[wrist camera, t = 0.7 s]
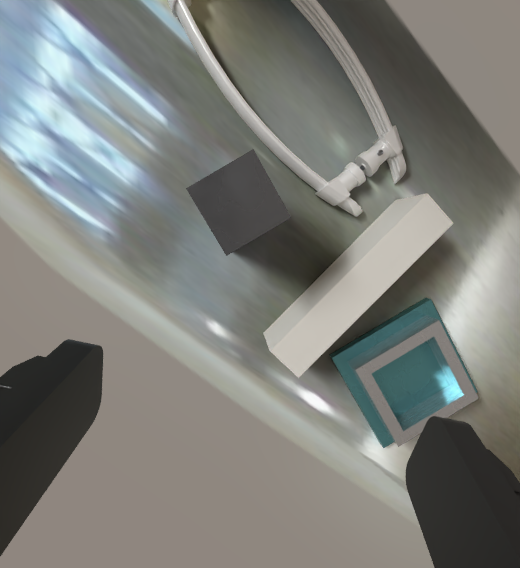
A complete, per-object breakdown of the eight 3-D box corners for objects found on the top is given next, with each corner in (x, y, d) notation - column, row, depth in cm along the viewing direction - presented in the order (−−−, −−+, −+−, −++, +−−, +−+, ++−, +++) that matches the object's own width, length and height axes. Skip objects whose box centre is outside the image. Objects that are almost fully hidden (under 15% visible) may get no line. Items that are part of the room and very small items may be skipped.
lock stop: (201, 206, 29) (186, 188, 19) (244, 181, 29) (253, 149, 19) (227, 248, 30) (226, 255, 19) (268, 224, 30) (291, 217, 19)
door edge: (287, 355, 32) (298, 377, 27) (263, 332, 31) (270, 351, 26) (417, 225, 31) (453, 223, 26) (395, 200, 31) (427, 193, 26)
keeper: (329, 355, 32) (339, 366, 29) (425, 297, 32) (444, 303, 29) (379, 443, 34) (393, 461, 31) (471, 388, 34) (493, 401, 31)
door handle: (226, -105, 27) (419, 160, 31) (128, -17, 27) (332, 236, 31) (226, -143, 24) (438, 153, 28) (116, -45, 25) (342, 236, 28)
